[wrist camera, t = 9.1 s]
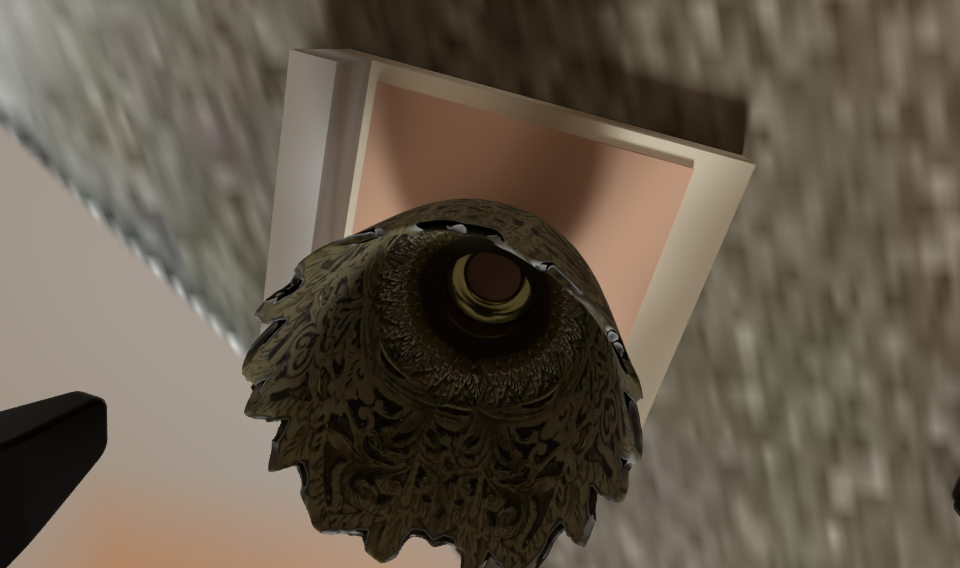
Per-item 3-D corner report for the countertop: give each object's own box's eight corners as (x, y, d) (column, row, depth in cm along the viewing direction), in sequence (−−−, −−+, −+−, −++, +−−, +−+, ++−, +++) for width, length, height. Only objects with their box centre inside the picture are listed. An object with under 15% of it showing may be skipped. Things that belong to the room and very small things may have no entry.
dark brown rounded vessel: (366, 354, 20) (236, 533, 12) (386, 129, 17) (234, 191, 10) (589, 404, 19) (590, 625, 12) (649, 178, 16) (701, 284, 9)
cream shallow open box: (742, 155, 17) (783, 184, 14) (627, 429, 21) (634, 509, 18) (350, 48, 18) (289, 49, 14) (310, 332, 22) (254, 389, 18)
